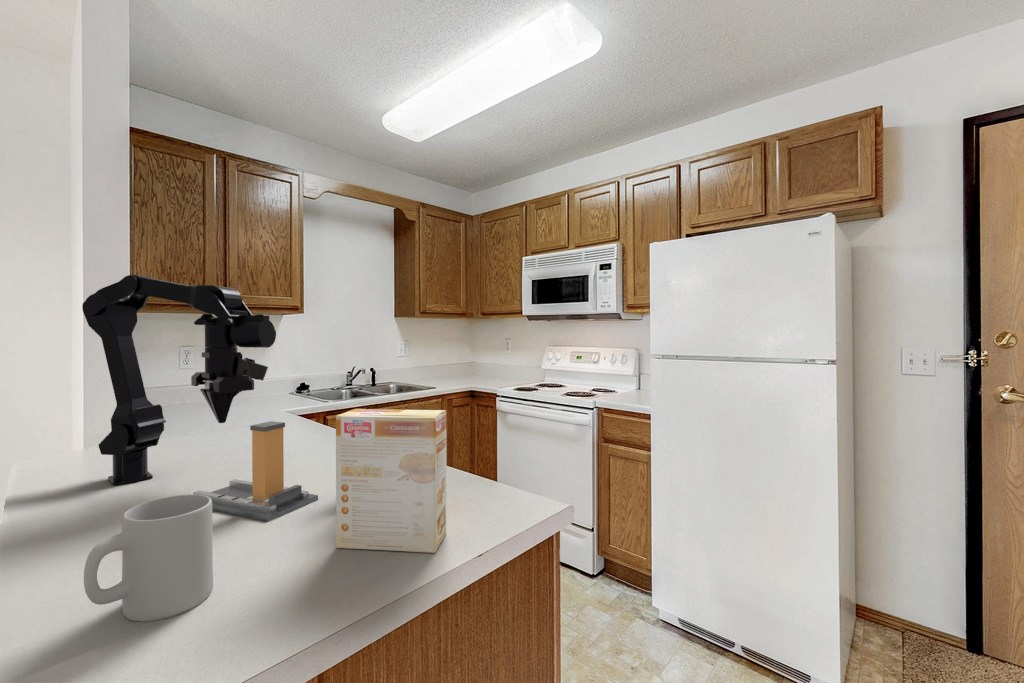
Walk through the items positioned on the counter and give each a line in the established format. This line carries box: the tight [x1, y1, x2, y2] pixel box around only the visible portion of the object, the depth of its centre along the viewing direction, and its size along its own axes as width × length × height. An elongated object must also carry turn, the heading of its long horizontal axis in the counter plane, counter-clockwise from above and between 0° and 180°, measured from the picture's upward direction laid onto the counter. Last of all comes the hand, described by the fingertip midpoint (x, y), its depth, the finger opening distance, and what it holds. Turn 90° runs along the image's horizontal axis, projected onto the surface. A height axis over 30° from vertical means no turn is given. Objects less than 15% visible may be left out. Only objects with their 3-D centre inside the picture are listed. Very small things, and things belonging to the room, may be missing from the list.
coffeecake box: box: [335, 408, 447, 554], centre depth 70 cm, size 15×7×20 cm, turn 84°
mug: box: [83, 494, 214, 622], centre depth 52 cm, size 12×8×11 cm
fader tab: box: [247, 420, 286, 503], centre depth 84 cm, size 5×5×14 cm
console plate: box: [192, 479, 319, 522], centre depth 85 cm, size 20×11×3 cm, turn 69°
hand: (221, 422), depth 96 cm, fingers closed
